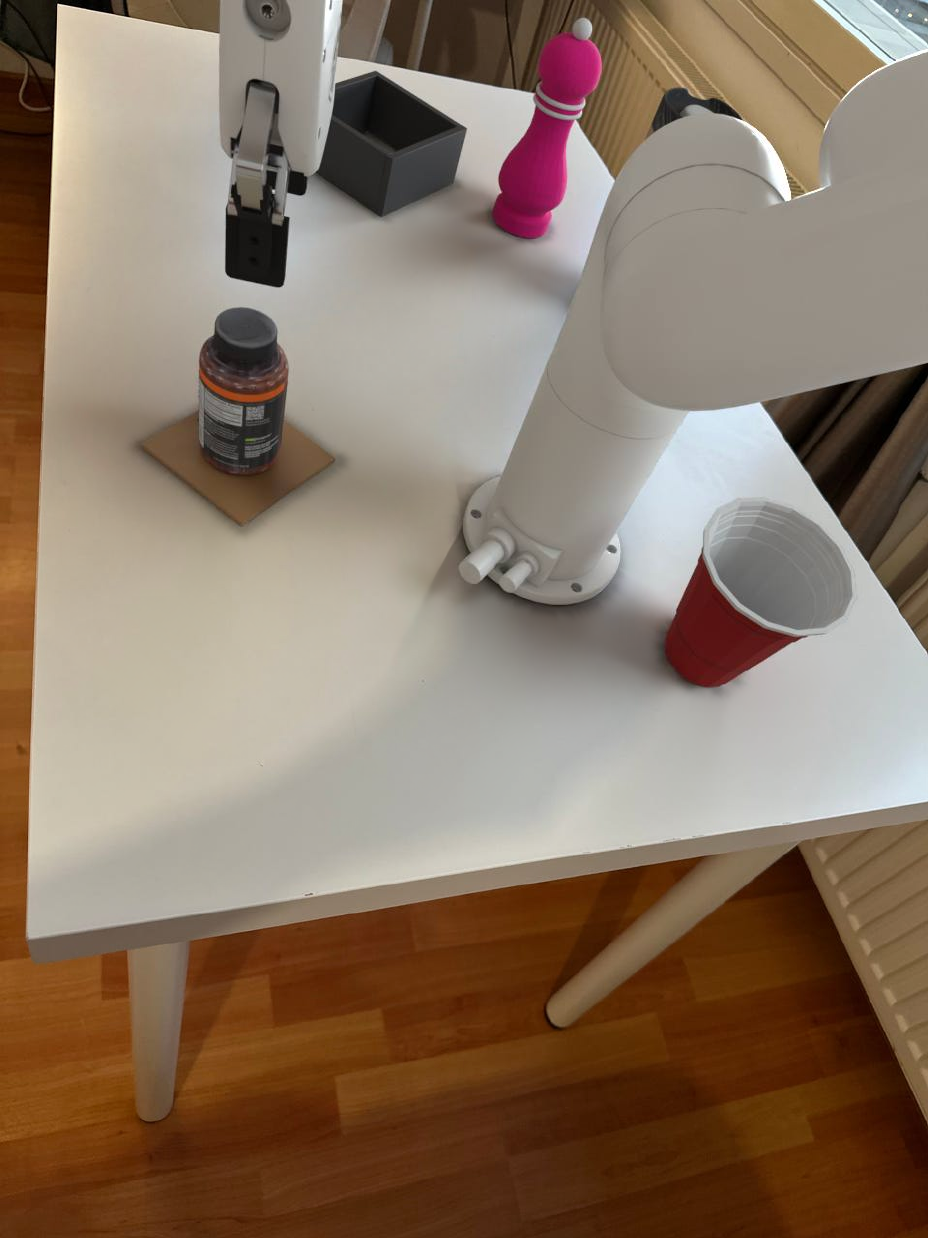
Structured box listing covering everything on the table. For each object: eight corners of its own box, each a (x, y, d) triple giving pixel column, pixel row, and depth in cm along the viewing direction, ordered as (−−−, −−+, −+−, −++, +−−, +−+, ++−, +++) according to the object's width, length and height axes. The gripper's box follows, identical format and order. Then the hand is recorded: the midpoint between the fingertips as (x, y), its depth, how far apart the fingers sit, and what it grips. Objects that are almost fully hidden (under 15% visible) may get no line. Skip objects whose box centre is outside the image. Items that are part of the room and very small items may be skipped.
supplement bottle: (239, 410, 68) (247, 284, 59) (296, 454, 67) (313, 332, 58) (180, 445, 64) (179, 317, 55) (239, 492, 63) (248, 368, 54)
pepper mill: (552, 248, 94) (626, 46, 78) (487, 231, 93) (549, 23, 77) (550, 212, 98) (619, 14, 82) (488, 195, 97) (546, -9, 81)
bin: (381, 216, 89) (392, 159, 84) (289, 154, 91) (295, 95, 87) (453, 182, 96) (467, 128, 92) (366, 126, 99) (375, 69, 94)
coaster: (241, 526, 62) (242, 522, 62) (141, 447, 64) (141, 443, 64) (335, 461, 68) (335, 457, 68) (240, 390, 70) (240, 386, 69)
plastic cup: (616, 681, 63) (692, 580, 53) (647, 578, 69) (720, 472, 60) (754, 745, 62) (856, 656, 53) (773, 635, 69) (866, 539, 60)
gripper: (355, -35, 34) (315, 335, 47) (386, -162, 44) (346, 172, 57) (153, -91, 32) (170, 306, 46) (233, -208, 42) (229, 144, 56)
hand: (268, 231), depth 52 cm, fingers open, 9 cm apart
